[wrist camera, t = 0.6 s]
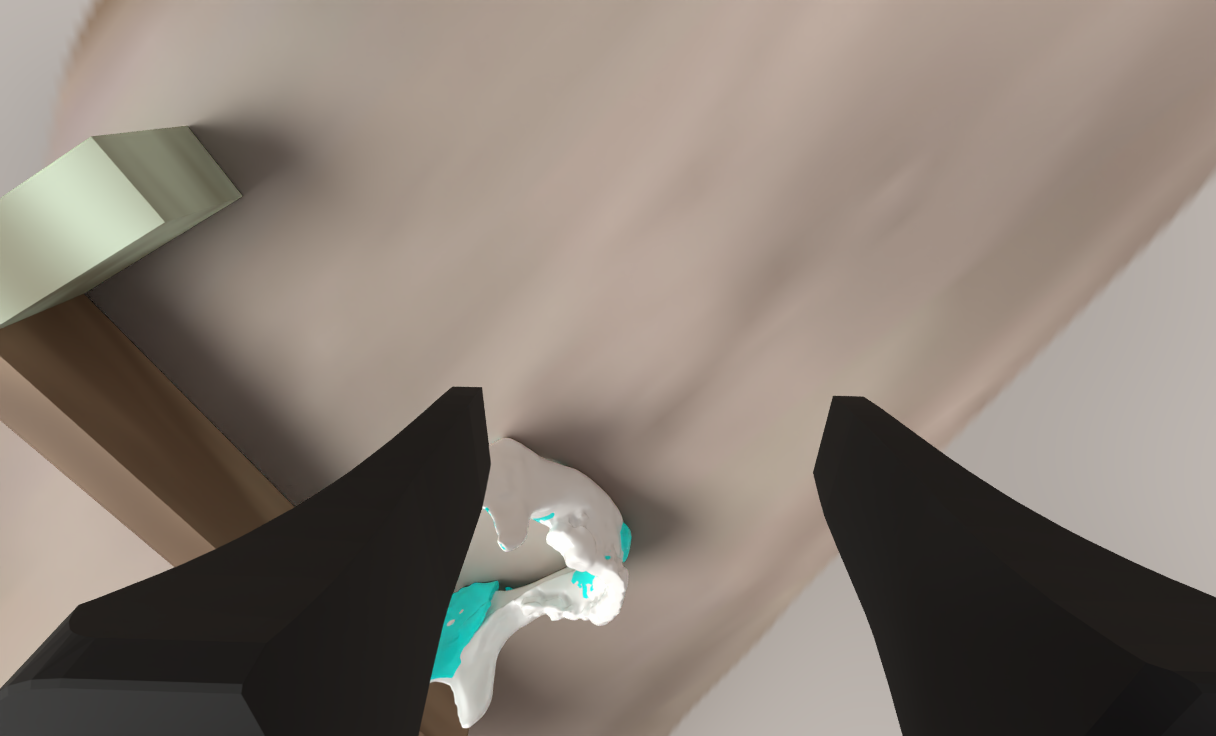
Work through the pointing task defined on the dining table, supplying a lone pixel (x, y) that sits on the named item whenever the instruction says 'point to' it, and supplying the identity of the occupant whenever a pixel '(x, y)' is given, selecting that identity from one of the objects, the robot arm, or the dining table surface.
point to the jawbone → (581, 590)
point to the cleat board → (125, 352)
